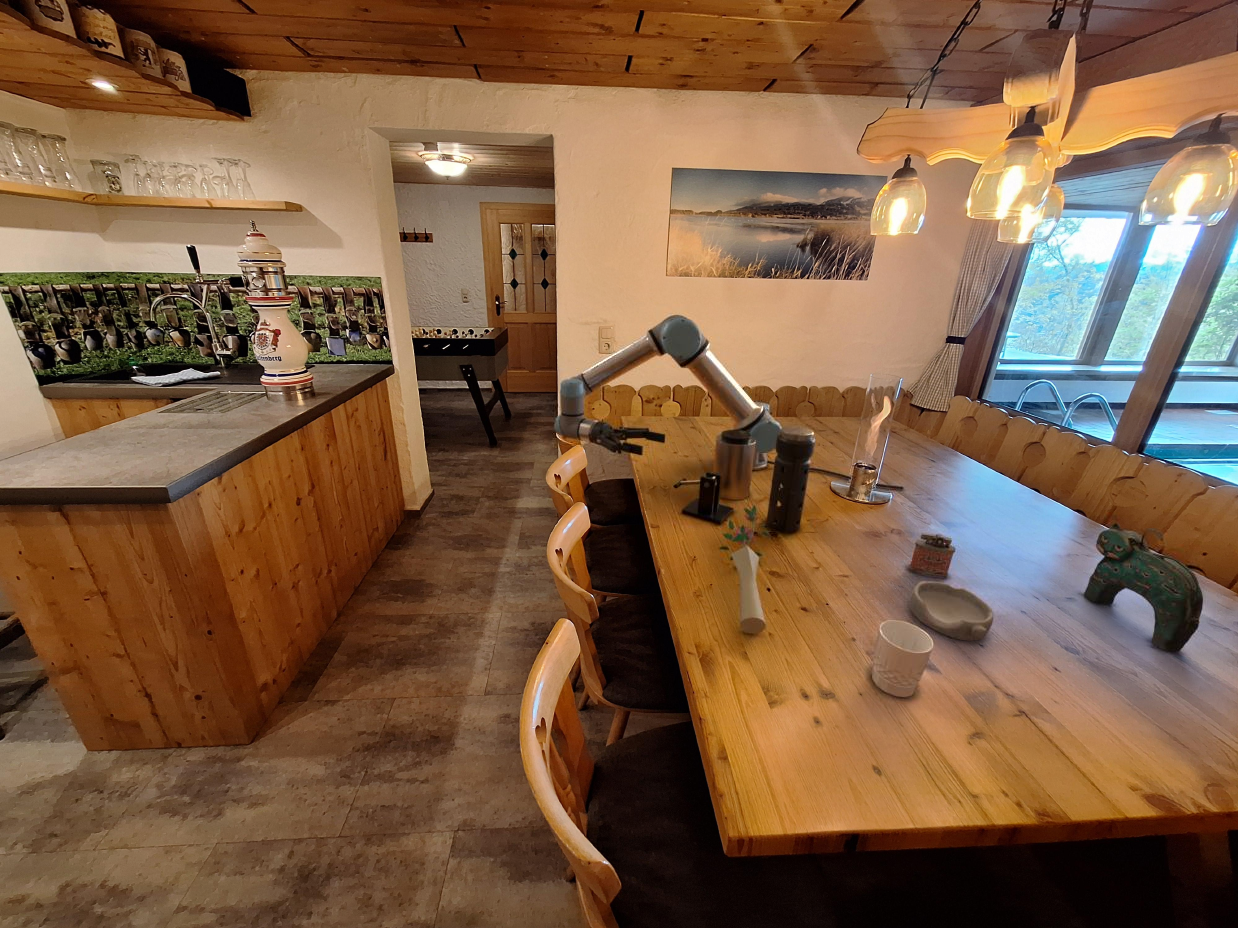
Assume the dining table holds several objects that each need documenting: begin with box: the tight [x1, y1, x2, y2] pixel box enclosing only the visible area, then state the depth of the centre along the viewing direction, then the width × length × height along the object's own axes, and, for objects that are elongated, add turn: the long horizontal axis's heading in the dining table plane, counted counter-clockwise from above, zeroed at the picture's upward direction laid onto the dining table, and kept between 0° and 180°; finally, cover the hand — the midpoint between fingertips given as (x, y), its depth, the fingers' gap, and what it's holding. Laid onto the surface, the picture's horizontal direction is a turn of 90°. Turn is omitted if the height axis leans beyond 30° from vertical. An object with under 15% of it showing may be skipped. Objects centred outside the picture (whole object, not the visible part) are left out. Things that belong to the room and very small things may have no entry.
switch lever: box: [672, 476, 717, 490], centre depth 143 cm, size 12×6×2 cm, turn 56°
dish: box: [909, 580, 995, 641], centre depth 99 cm, size 14×14×5 cm
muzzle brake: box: [765, 425, 816, 534], centre depth 131 cm, size 10×28×10 cm
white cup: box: [870, 619, 935, 698], centre depth 83 cm, size 8×8×10 cm
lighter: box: [908, 532, 956, 579], centre depth 114 cm, size 8×3×10 cm, turn 71°
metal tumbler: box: [712, 429, 756, 501], centre depth 154 cm, size 12×12×20 cm
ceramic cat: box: [1083, 522, 1204, 652], centre depth 97 cm, size 20×6×20 cm, turn 178°
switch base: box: [681, 471, 735, 526], centre depth 141 cm, size 12×10×12 cm
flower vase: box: [718, 504, 772, 635], centre depth 110 cm, size 12×12×35 cm
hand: (653, 444), depth 147 cm, fingers open, 13 cm apart
